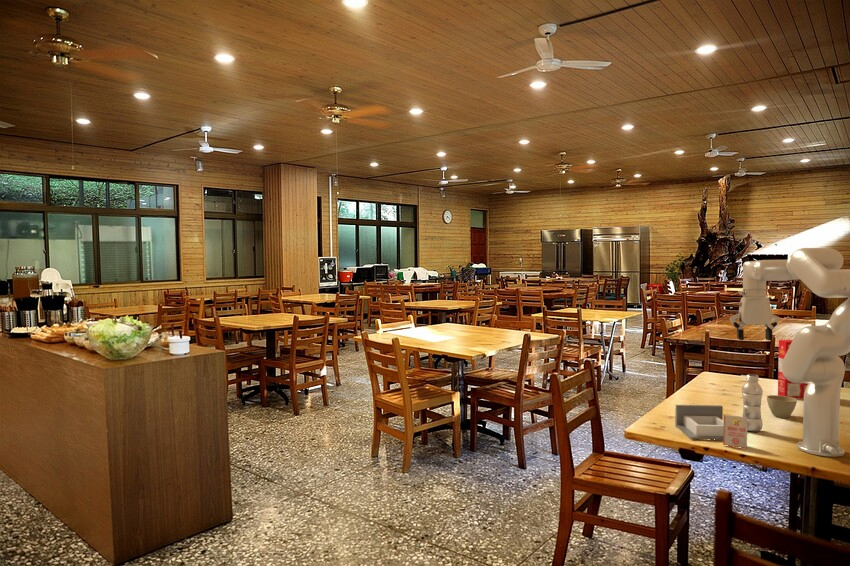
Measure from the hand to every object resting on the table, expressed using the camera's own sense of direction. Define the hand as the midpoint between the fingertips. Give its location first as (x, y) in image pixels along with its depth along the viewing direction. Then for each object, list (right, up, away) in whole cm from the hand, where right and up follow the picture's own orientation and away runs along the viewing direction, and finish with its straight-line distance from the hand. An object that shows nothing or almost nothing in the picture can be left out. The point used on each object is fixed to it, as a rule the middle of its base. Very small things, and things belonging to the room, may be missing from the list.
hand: (754, 339), depth 214 cm
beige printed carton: (-21, -33, -25) cm, 46 cm away
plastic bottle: (-6, -32, -9) cm, 34 cm away
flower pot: (+15, -31, +9) cm, 35 cm away
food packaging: (+41, -29, +38) cm, 63 cm away
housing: (-24, -32, -12) cm, 41 cm away
